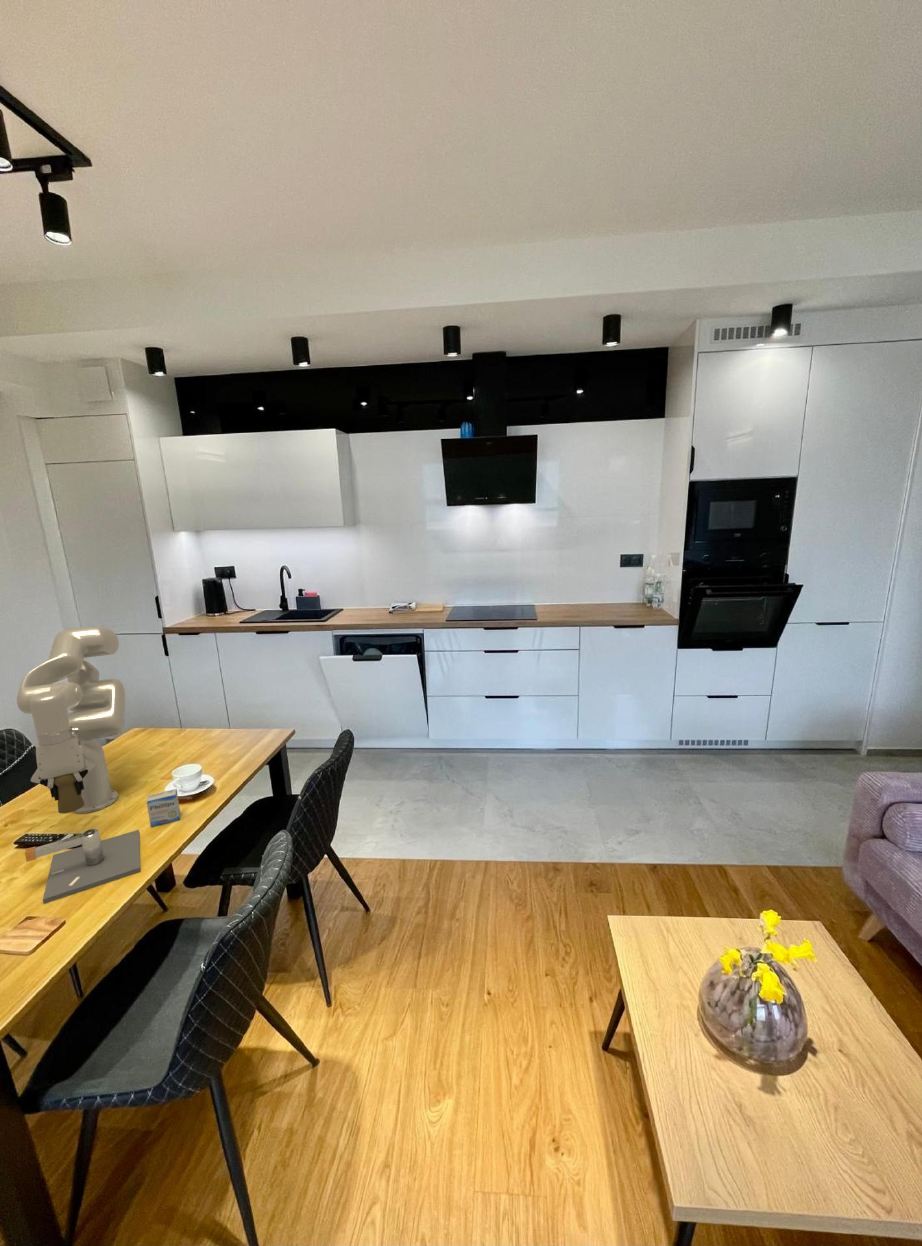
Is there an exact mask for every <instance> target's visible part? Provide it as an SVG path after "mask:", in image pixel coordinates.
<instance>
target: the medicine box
mask: <svg viewBox="0 0 922 1246" xmlns="http://www.w3.org/2000/svg"><path fill="white" fill-rule="evenodd" d="M146 807H147V813H148V818H149V824H150V828H155V827H159V826H163V825H167V824H169V823H170V824H171V823H173V822H178V821H180V820H181V810H180V802H179V796H178V790H177V788H174V789H170V790H167V791H162V792H157V793H154V794H150V795H147V796H146Z"/></svg>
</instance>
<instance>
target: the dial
mask: <svg viewBox="0 0 922 1246" xmlns="http://www.w3.org/2000/svg"><path fill="white" fill-rule="evenodd" d="M101 841H102V839H101V834H100V830H99V829H98V828H90V829H86V831H84V832H83V833H81V834H78V835H74V836H71V837H67V838H64V839H60V840H58V841H54V842H53V841H52V842H50V843H47V844H44V845H43V844H42V845H40V846H33V847H32V846H31V847H28V848H25V851H24V856H25V857H24V858H25V861H26V863H29V862H32V861H34V860H37V859H38V858H41V857H44V856H47V855H51V854H54V853H55V854H56V853H57V852H58V853H59V852H61V851H64V850H65V851H66V850H68V849H71V848H74V847H75V848H76V847H78V846H81V847H83V851H84V856H85V861H86V864H87V865H94V864H97V863H99V862H101V861H102V860H103V859H104V853H103V848H102V843H101Z"/></svg>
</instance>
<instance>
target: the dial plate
mask: <svg viewBox="0 0 922 1246" xmlns="http://www.w3.org/2000/svg"><path fill="white" fill-rule="evenodd" d="M101 843H102V848H103V853H104V859H103V860H102V861H101V862H99V863H97V864H94V865H87V864H86V861H85V856H84V851H83V847H82V846H79V847H78V846H77V847H75V848H72V849H71V848H70V849H69V850H68V849H67V850H65V851H62V852H61V851H60V852H58V853H55V854H53V855H52V860H51V862H50V867H49V872H48V876H47V878H46V879H47V880H46V884H45V888H44V892H43V897H42V903H43V904H44V905H45V904H47V903H48V904H49V903H50V902H53V901H56V900H59V899H62V898H66V897H68V896H71V895H74V894H77V893H80V892H84V891H85V890H86V891H87V890H90V889H92V888H95V887H99V886H102V885H105V884H107V883H110V882H113V881H116V880H119V879H122V878H125V877H128V876H131V875H135V874H137V873H140V872H141V843H140V829H136V830H133V831H132V830H131V831H130V832H125V833H123V834H119V835H116V836H115V835H114V836H112V837H109V838H106V839H101Z"/></svg>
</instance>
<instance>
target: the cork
mask: <svg viewBox="0 0 922 1246" xmlns="http://www.w3.org/2000/svg"><path fill="white" fill-rule="evenodd" d="M75 780H76V778H75V776H74V774H73V773H71V774H67V775H63V776H59V777H54V784H55V785H56V786H57V793H58V799H59V800H57V811H58V813H59V814H70V813H75V812H74V811H76V810H78V809H80V808H81V807H83V806H84V801H83V798H82V796H81V795H78V793H77V788H76V781H75Z"/></svg>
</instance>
